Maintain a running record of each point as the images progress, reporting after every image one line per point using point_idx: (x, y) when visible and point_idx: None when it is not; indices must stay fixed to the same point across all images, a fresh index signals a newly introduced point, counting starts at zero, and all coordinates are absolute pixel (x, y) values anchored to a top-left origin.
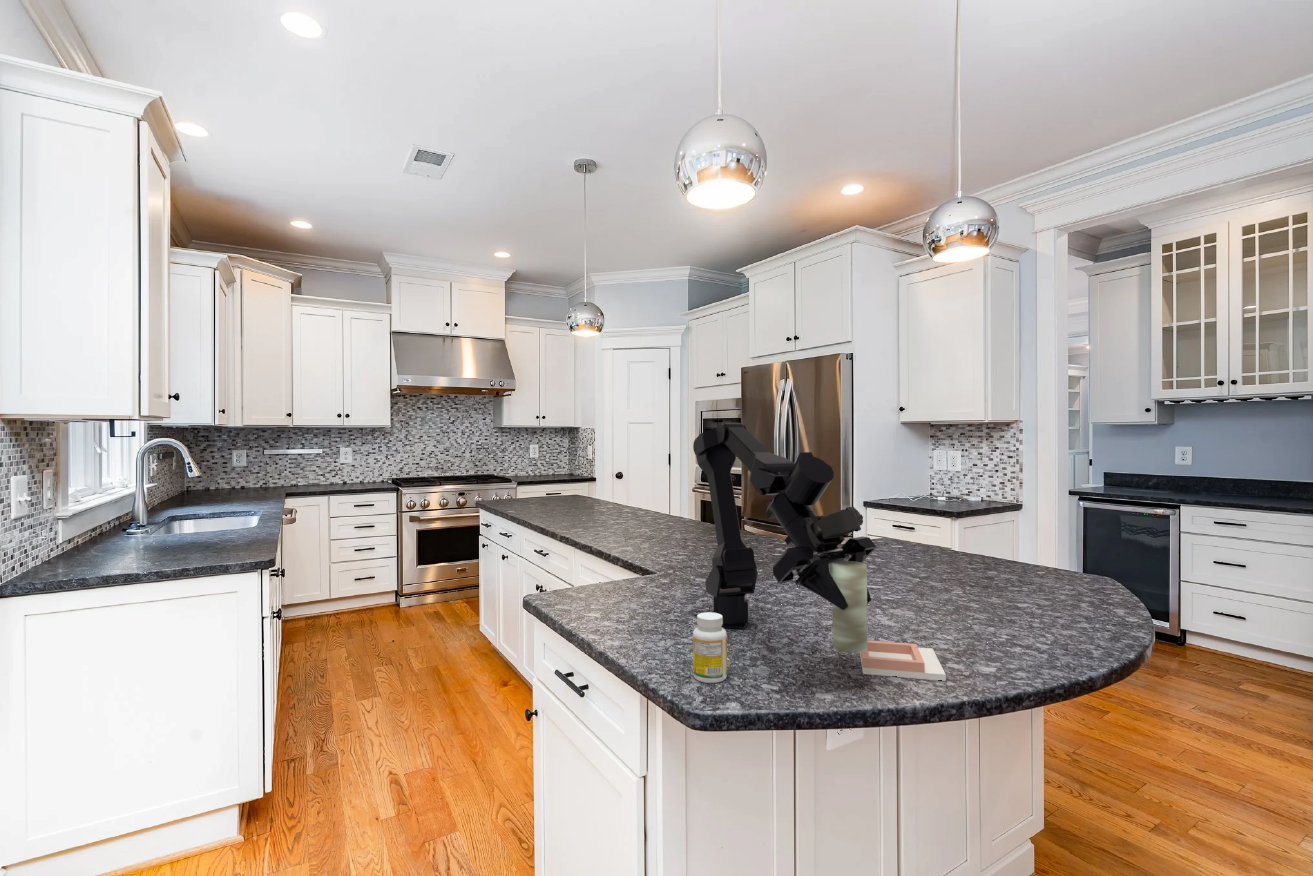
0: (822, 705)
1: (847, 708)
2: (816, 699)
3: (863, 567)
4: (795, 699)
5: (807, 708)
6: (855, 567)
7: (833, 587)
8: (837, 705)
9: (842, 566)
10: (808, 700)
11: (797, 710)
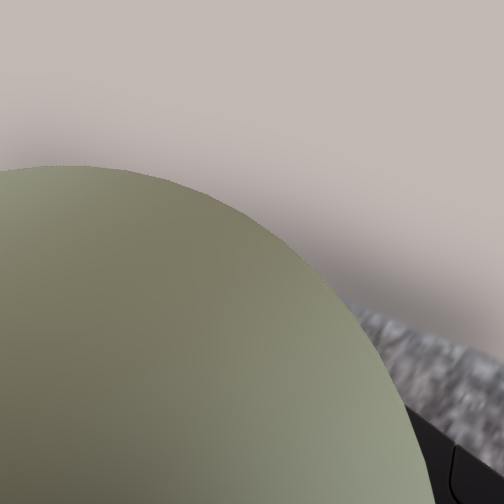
0: (410, 359)
1: (355, 311)
2: (403, 402)
3: (15, 176)
4: (467, 435)
5: (464, 364)
6: (184, 194)
7: (438, 433)
8: (369, 338)
9: (356, 405)
10: (431, 408)
11: (500, 367)
